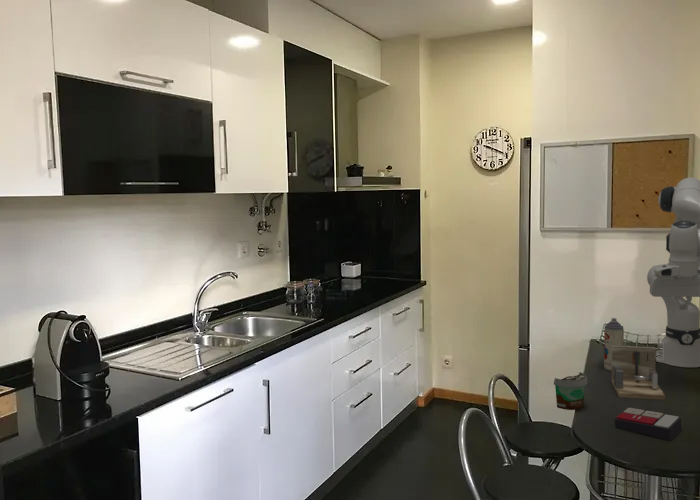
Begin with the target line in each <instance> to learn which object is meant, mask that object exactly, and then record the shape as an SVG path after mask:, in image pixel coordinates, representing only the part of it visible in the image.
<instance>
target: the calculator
mask: <svg viewBox="0 0 700 500" xmlns="http://www.w3.org/2000/svg"><path fill="white" fill-rule="evenodd" d="M615 427H616V429H620V430H623V431H627V430H628V431H627V432H631V431H632V433H635V432H636V433H635V434H640V433H641V434H640V435H647V436H650V437H653V438H656V439H660V440H665V441H669V442H671V441H672V440H673V439H674V438H675V437H676V436H677V434H679V432H680V431H681V430H682V417H679V416H676V415H671V414H664V413H662V412H658V411H651V410H644V409H640V408H633V407H627V408H626V409H625V410H623V411H622V412H621V413H620V414H619V415H617V416H616V417H615V418H614V428H615Z"/></svg>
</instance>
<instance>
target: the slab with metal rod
mask: <svg viewBox="0 0 700 500" xmlns="http://www.w3.org/2000/svg"><path fill="white" fill-rule="evenodd" d="M634 380H641V381H649V384H650V386H651V387H652V389H657V385H658V373H657V372H656V369H655V370H654V369H649V376H636V375H634Z"/></svg>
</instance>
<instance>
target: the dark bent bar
mask: <svg viewBox="0 0 700 500" xmlns="http://www.w3.org/2000/svg"><path fill="white" fill-rule="evenodd" d="M639 353H640V352H634V355H636V358H635V375H636V376H638V355H639ZM637 381H639V380H637Z"/></svg>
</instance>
